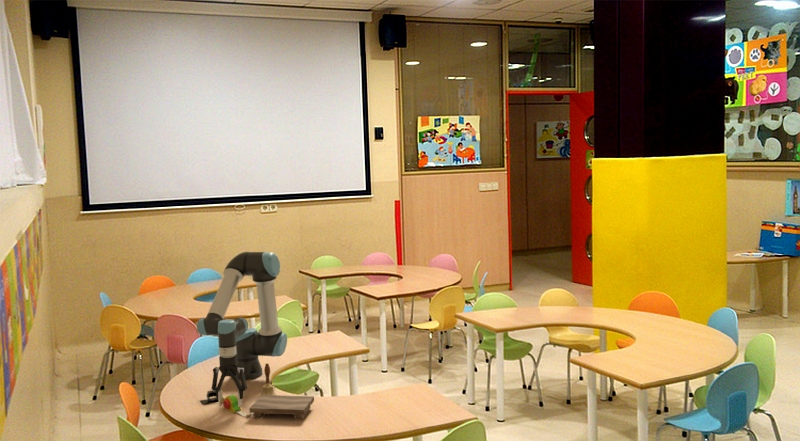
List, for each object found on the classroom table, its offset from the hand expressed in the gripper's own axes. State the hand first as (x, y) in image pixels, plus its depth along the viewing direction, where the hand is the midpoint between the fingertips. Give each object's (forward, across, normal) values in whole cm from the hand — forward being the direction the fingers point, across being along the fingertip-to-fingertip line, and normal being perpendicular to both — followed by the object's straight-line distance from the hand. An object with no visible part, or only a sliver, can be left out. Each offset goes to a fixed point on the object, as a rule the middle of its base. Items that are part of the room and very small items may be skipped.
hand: (230, 405), depth 314 cm
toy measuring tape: (+3, +3, -1) cm, 4 cm away
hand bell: (+3, +11, +18) cm, 21 cm away
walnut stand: (+2, +24, -1) cm, 24 cm away
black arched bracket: (+3, -13, +11) cm, 18 cm away
